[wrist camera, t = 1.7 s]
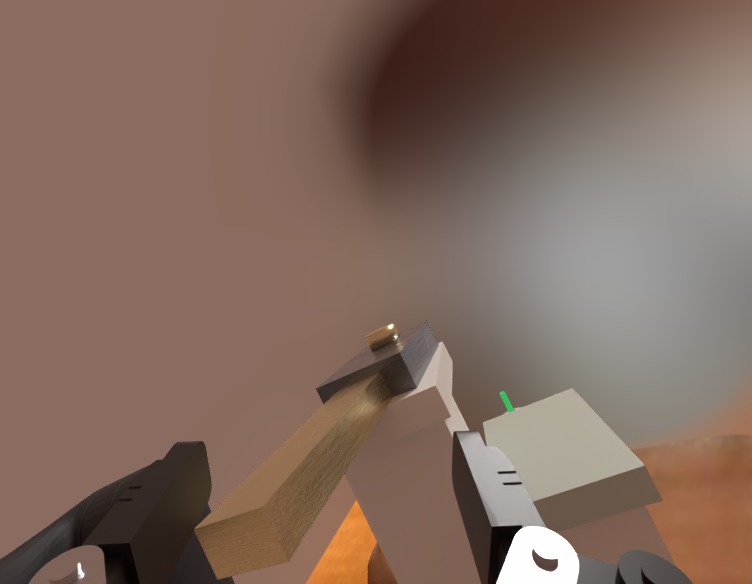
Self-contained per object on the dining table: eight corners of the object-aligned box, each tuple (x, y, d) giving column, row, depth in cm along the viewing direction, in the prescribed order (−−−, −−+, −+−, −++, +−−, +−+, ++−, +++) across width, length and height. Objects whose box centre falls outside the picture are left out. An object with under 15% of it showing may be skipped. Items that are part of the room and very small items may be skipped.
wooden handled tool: (182, 588, 12) (136, 492, 13) (376, 371, 34) (358, 336, 34) (335, 549, 10) (279, 435, 11) (438, 345, 32) (420, 307, 32)
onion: (459, 636, 41) (419, 555, 41) (381, 659, 43) (343, 581, 43) (456, 567, 51) (424, 501, 51) (392, 588, 53) (361, 524, 53)
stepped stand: (537, 918, 22) (305, 440, 23) (508, 692, 34) (355, 380, 35) (864, 897, 18) (574, 326, 19) (705, 651, 30) (528, 302, 31)
